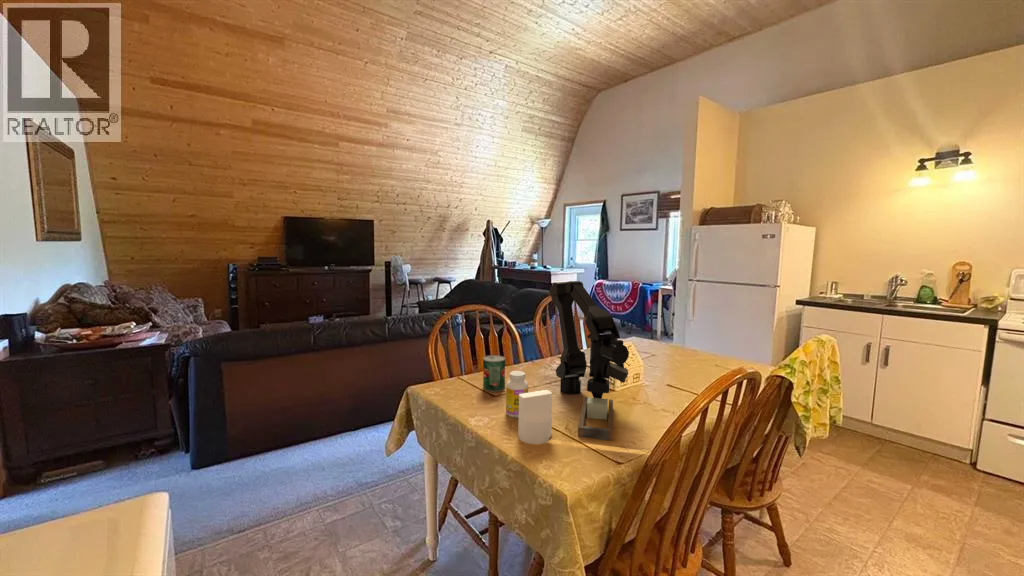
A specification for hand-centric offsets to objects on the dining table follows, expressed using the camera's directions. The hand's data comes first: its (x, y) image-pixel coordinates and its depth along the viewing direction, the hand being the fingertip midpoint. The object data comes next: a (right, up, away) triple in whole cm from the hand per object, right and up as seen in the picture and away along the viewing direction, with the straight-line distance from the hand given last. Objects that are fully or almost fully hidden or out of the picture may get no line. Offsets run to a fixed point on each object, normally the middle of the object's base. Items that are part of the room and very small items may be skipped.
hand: (598, 404), depth 129 cm
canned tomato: (-33, 0, +21) cm, 39 cm away
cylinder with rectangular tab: (-20, -5, -15) cm, 26 cm away
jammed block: (-1, -2, -4) cm, 4 cm away
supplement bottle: (-25, -3, -1) cm, 25 cm away
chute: (-2, -3, -7) cm, 9 cm away
